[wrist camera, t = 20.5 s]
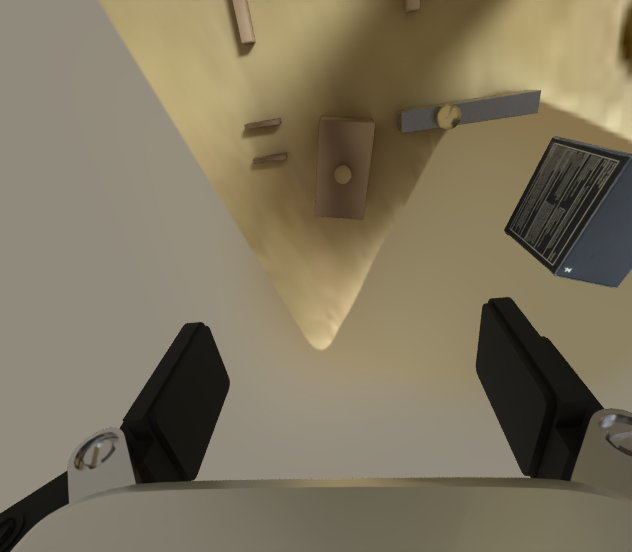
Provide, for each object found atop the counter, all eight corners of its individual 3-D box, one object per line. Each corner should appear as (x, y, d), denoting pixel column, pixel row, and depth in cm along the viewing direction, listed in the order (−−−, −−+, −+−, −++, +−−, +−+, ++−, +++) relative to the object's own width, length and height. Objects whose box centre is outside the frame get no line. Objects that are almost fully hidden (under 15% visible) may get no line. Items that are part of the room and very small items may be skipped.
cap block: (371, 118, 34) (376, 124, 29) (361, 205, 38) (363, 222, 34) (322, 115, 34) (318, 121, 29) (317, 202, 39) (314, 218, 34)
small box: (555, 243, 39) (619, 292, 30) (501, 231, 39) (549, 278, 30) (614, 148, 33) (714, 174, 24) (551, 134, 33) (629, 155, 24)
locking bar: (530, 88, 31) (548, 89, 28) (526, 112, 32) (544, 115, 29) (398, 109, 33) (403, 112, 30) (399, 131, 34) (403, 136, 31)
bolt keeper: (280, 118, 34) (278, 119, 33) (287, 156, 36) (285, 159, 35) (247, 123, 35) (244, 124, 34) (256, 161, 36) (253, 163, 35)
